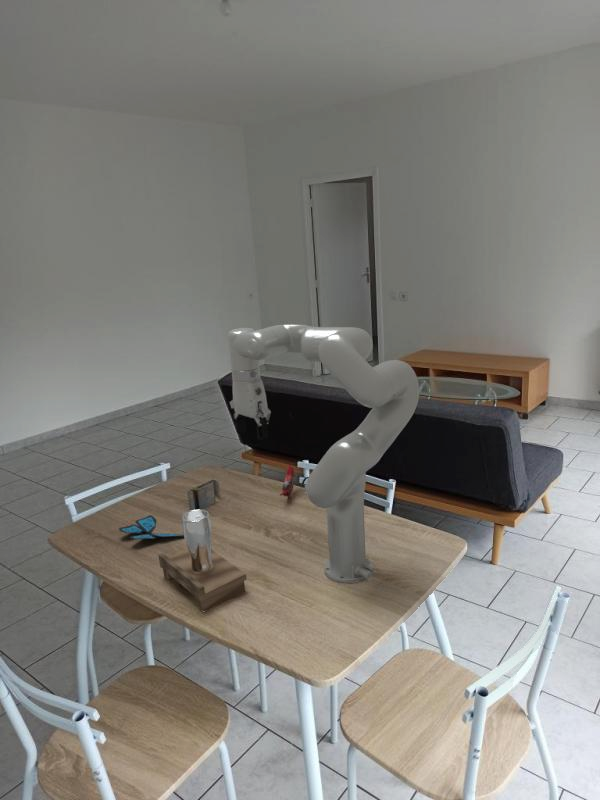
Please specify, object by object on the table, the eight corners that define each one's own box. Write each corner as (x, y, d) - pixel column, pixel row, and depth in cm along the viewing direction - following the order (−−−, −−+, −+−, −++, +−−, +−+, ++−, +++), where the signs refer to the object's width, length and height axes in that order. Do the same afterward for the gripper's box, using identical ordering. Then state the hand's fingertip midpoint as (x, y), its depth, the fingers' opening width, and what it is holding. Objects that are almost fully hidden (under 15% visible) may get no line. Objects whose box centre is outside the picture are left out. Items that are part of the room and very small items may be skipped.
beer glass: (184, 575, 147) (177, 521, 143) (193, 560, 154) (187, 508, 150) (211, 576, 146) (204, 522, 142) (219, 561, 153) (213, 509, 149)
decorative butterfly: (111, 531, 181) (111, 523, 181) (152, 518, 191) (152, 510, 190) (144, 557, 167) (144, 548, 166) (187, 541, 177) (187, 532, 176)
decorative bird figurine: (297, 489, 204) (295, 463, 202) (285, 512, 188) (283, 484, 185) (289, 489, 205) (287, 463, 202) (277, 512, 189) (274, 484, 186)
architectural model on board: (195, 514, 193) (192, 487, 190) (190, 511, 194) (186, 484, 192) (221, 501, 201) (218, 475, 198) (215, 499, 203) (212, 473, 200)
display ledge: (247, 591, 147) (245, 567, 145) (203, 614, 140) (199, 588, 138) (203, 558, 164) (201, 536, 162) (161, 577, 156) (158, 554, 154)
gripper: (277, 375, 152) (282, 437, 156) (238, 368, 165) (244, 425, 169) (254, 381, 147) (260, 445, 152) (216, 373, 160) (223, 432, 164)
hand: (252, 435), depth 160 cm, fingers open, 9 cm apart
